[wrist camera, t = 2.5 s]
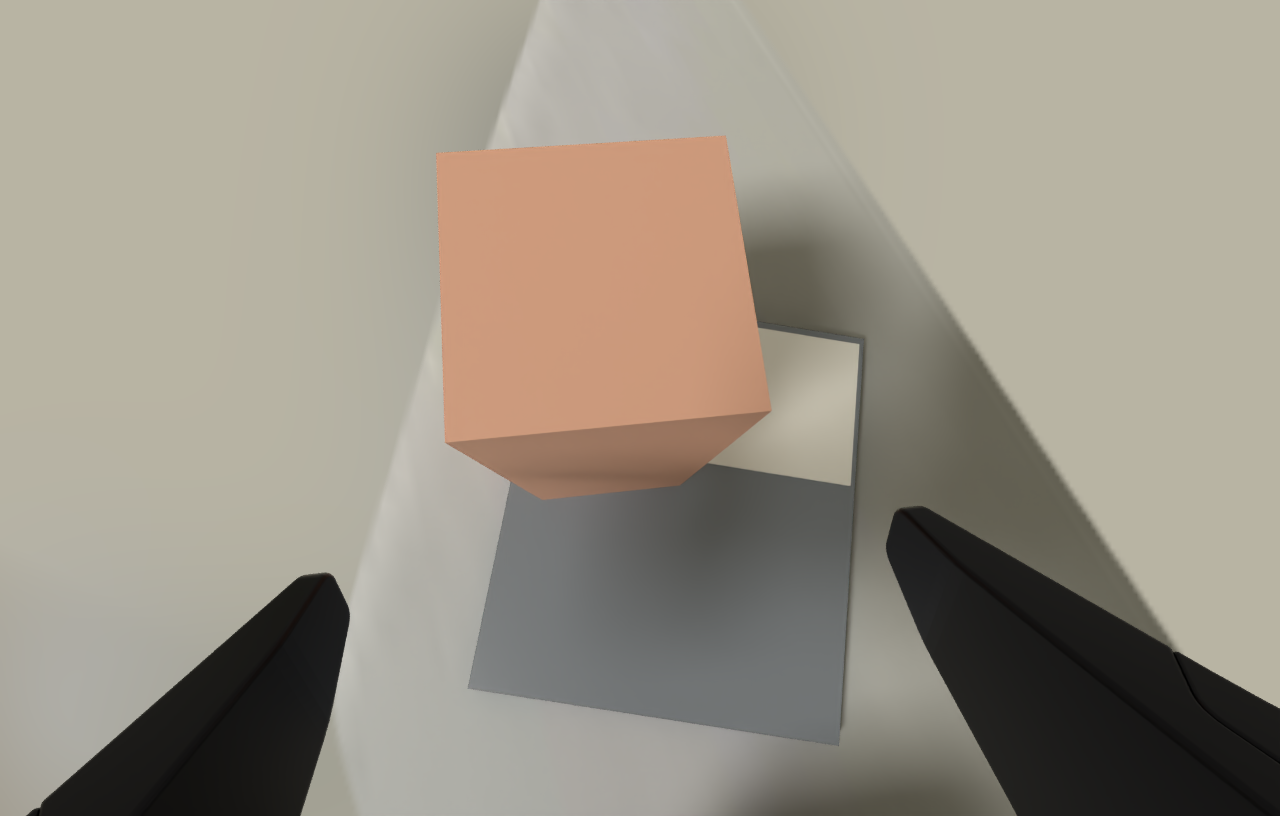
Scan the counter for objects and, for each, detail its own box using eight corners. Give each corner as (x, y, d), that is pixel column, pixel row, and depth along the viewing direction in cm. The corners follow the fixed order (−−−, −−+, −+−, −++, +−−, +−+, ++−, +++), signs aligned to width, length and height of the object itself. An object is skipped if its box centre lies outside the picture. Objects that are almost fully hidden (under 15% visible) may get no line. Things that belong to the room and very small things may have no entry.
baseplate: (832, 739, 19) (839, 746, 19) (471, 684, 19) (466, 689, 18) (857, 344, 23) (864, 337, 22) (552, 294, 22) (551, 286, 22)
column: (679, 485, 20) (772, 411, 9) (542, 500, 20) (445, 442, 8) (663, 355, 21) (725, 135, 10) (533, 367, 21) (436, 153, 9)
